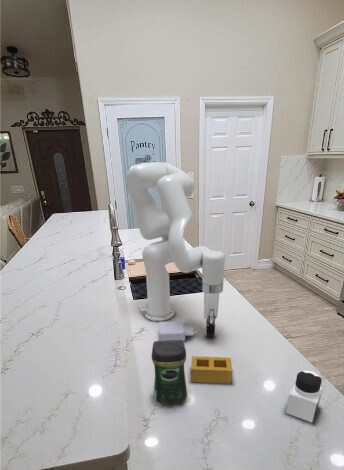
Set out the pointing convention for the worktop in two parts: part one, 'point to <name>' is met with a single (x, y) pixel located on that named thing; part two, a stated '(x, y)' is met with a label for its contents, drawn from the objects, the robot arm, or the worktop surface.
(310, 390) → the medicine bottle
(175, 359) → the coffee jar
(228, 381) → the ochre block
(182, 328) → the charger
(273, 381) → the worktop surface
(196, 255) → the robot arm
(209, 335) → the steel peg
